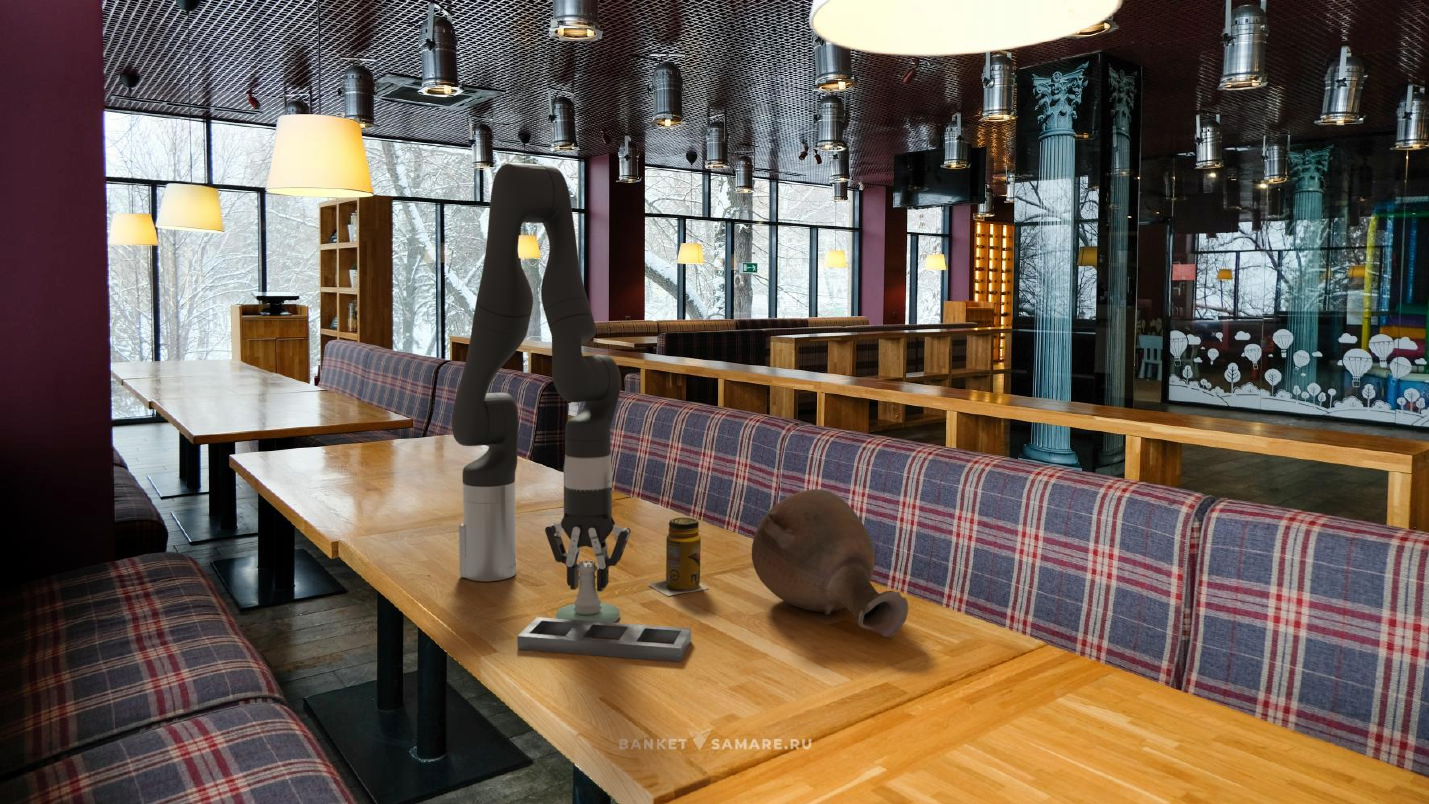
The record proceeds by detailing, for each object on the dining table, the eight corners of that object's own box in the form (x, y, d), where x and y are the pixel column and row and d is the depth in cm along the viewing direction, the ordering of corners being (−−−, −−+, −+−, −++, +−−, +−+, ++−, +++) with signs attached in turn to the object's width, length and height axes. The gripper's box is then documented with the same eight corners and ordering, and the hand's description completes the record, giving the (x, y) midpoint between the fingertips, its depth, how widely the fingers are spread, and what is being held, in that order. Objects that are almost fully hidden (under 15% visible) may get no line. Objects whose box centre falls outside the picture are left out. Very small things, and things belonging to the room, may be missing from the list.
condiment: (709, 588, 163) (710, 522, 162) (668, 597, 159) (668, 528, 157) (687, 578, 169) (688, 513, 168) (647, 585, 165) (647, 519, 163)
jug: (738, 591, 162) (831, 683, 137) (728, 490, 155) (824, 567, 130) (837, 556, 170) (942, 638, 144) (831, 459, 163) (941, 526, 137)
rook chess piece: (574, 606, 150) (574, 558, 149) (602, 606, 151) (602, 558, 150) (572, 616, 146) (571, 566, 145) (601, 615, 146) (600, 566, 145)
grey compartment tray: (517, 649, 134) (517, 635, 134) (536, 629, 142) (536, 617, 142) (680, 661, 131) (680, 648, 130) (691, 641, 138) (691, 628, 138)
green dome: (547, 625, 144) (547, 620, 144) (567, 604, 154) (567, 600, 154) (610, 630, 143) (610, 625, 142) (626, 608, 152) (626, 604, 152)
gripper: (536, 485, 143) (536, 593, 145) (625, 489, 141) (625, 599, 143) (552, 476, 151) (552, 579, 153) (637, 480, 148) (637, 584, 150)
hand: (587, 588), depth 148 cm, fingers open, 3 cm apart
